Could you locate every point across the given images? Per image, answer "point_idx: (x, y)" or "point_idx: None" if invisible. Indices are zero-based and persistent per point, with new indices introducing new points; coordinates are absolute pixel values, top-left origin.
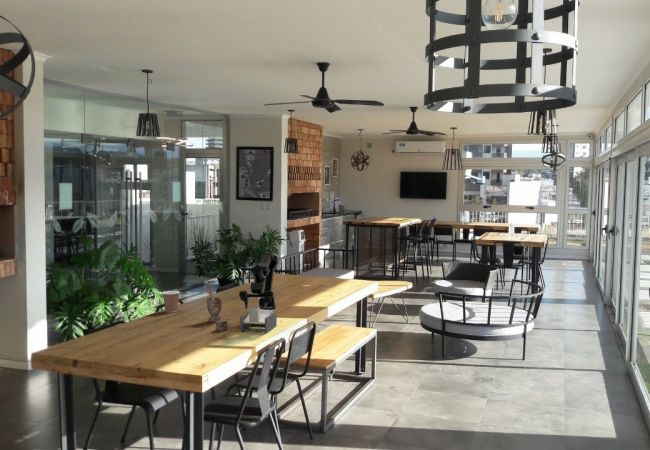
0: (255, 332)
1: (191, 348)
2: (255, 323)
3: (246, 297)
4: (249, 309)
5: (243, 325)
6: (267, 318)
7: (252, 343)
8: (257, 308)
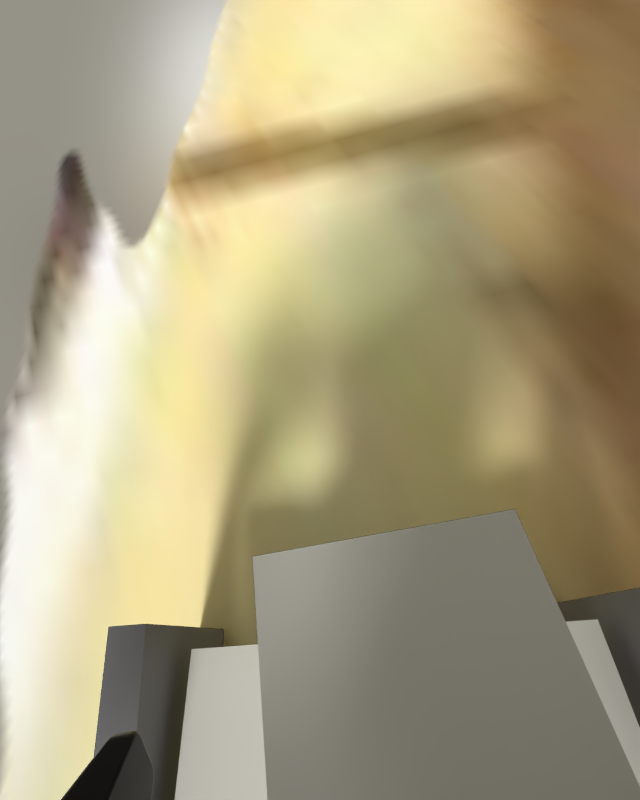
0: None
1: (586, 52)
2: None
3: None
4: (506, 551)
5: None
6: (107, 682)
7: (222, 250)
8: (287, 664)
